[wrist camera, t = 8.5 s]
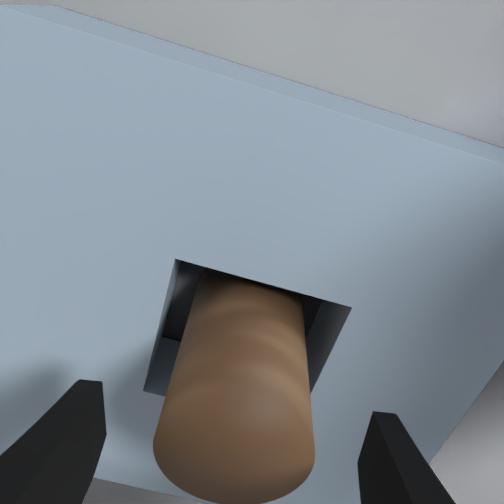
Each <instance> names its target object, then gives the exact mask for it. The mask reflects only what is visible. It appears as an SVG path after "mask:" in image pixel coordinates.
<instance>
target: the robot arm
mask: <svg viewBox="0 0 504 504" xmlns="http://www.w3.org/2000/svg"><path fill="white" fill-rule="evenodd" d="M106 436H107V432H106V420H105V407H104V395H103V383H102V381H92V380H83V379H79V380H78V381H76V382H75V383H74V384H73V385H72V386H71V387H70V388H69V389H68V390H67V391H66V393H65V394H64V395H63V396H62V397H61V398H60V399H59V400H58V401H57V402H56V403H55V404H54V405H53V406H52V407H51V408H50V409H49V410H48V411H47V412H46V413H45V414H44V415H43V416H42V417H41V418H40V419H39V420H38V421H37V422H36V423H34V424H33V425H32V426H31V427H30V428H29V429H28V430H27V431H26V432H25V433H24V434H23V435H22V436H21V437H20V438H19V439H18V440H17V441H15V442H14V443H13V444H12V445H11V446H10V447H9V448H8V449H7V450H5V451H4V452H3V453H2V454H1V455H0V504H82V502H83V499H84V497H85V495H86V492H87V490H88V488H89V486H90V483H91V481H92V479H93V476H94V474H95V471H96V468H97V465H98V462H99V459H100V456H101V452H102V449H103V446H104V442H105V439H106ZM357 466H358V478H359V490H360V500H361V504H456V503H455V502H454V501H453V499H452V498H451V497H450V495H449V494H448V492H447V491H446V489H445V488H444V486H443V485H442V484H441V482H440V481H439V479H438V478H437V476H436V475H435V473H434V472H433V470H432V469H431V467H430V466H429V464H428V463H427V461H426V460H425V458H424V457H423V455H422V454H421V452H420V451H419V449H418V447H417V446H416V444H415V443H414V441H413V439H412V438H411V436H410V435H409V433H408V431H407V430H406V428H405V427H404V425H403V423H402V422H401V420H400V418H399V417H398V416H397V414H395V413H386V412H377V411H373V412H372V415H371V419H370V422H369V425H368V429H367V432H366V435H365V438H364V442H363V445H362V448H361V452H360V455H359V458H358V462H357Z"/></svg>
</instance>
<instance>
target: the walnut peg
mask: <svg viewBox="0 0 504 504" xmlns="http://www.w3.org/2000/svg"><path fill="white" fill-rule="evenodd" d="M153 454H154V457H155V460H156V463H157V465H158V467H159V468H160V470H161V471H162V473H163V474H164V475H165V476H166V477H167V478H168V479H169V480H170V481H171V482H172V483H173V484H174V485H175V486H177V487H178V488H180V489H181V490H183V491H185V492H187V493H188V494H190V495H192V496H195V497H197V498H200V499H203V500H206V501H209V502H213V503H218V504H262V503H267V502H270V501H274V500H277V499H279V498H282V497H284V496H286V495H288V494H289V493H291V492H293V491H294V490H296V489H297V488H298V487H299V486H300V485H301V484H303V483H304V481H305V480H306V479H307V478H308V476H309V475H310V473H311V471H312V469H313V466H314V462H315V444H314V433H313V422H312V410H311V399H310V387H309V376H308V364H307V353H306V342H305V330H304V319H303V307H302V296H301V293H298V292H295V291H291V290H287V289H284V288H280V287H276V286H273V285H269V284H266V283H262V282H258V281H255V280H251V279H247V278H244V277H240V276H237V275H233V274H229V273H226V272H222V271H218V270H215V269H211V268H206V269H205V270H204V271H203V273H202V274H201V276H200V279H199V281H198V285H197V288H196V292H195V295H194V299H193V302H192V306H191V309H190V313H189V316H188V320H187V323H186V327H185V330H184V334H183V337H182V341H181V344H180V348H179V351H178V355H177V358H176V362H175V365H174V369H173V372H172V376H171V379H170V383H169V386H168V390H167V393H166V397H165V400H164V404H163V407H162V411H161V414H160V418H159V421H158V425H157V428H156V432H155V435H154V439H153Z"/></svg>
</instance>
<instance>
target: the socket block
mask: <svg viewBox="0 0 504 504" xmlns="http://www.w3.org/2000/svg"><path fill="white" fill-rule="evenodd" d="M181 260H182V261H186V262H189V263H193V264H197V265H200V266H204V267H207V268H211V269H215V270H218V271H222V272H226V273H229V274H233V275H237V276H240V277H244V278H247V279H251V280H255V281H258V282H262V283H266V284H269V285H273V286H276V287H280V288H284V289H287V290H291V291H295V292H298V293H302V294H305V295H309V296H313V297H316V298H320V299H323V300H322V303H321V305H320V307H319V309H318V312H317V314H316V316H315V319H314V321H313V323H312V325H311V328H310V330H309V332H308V334H307V337H306V339H305V342H306V353H307V364H308V376H309V387H310V399H311V410H312V422H313V433H314V444H315V462H314V466H313V469H312V471H311V473H310V475H309V476H308V478H307V479H306V480H305V481H304V483H303V484H301V485H300V486H299V487H298V488H297V489H296V490H294V491H293V492H291V493H289V494H288V495H286V496H284V497H282V498H279V499H277V500H274V501H270V502H267V503H262V504H361V500H360V490H359V478H358V466H357V462H358V458H359V455H360V452H361V448H362V445H363V442H364V438H365V435H366V432H367V429H368V425H369V422H370V419H371V415H372V412H373V411H377V412H386V413H395V414H397V416H398V417H399V418H400V420H401V422H402V423H403V425H404V427H405V428H406V430H407V431H408V433H409V435H410V436H411V438H412V439H413V441H414V443H415V444H416V446H417V447H418V449H419V451H420V452H421V454H422V455H423V457H424V458H425V460H426V461H427V463H428V464H429V463H430V462H431V460H432V459H433V457H434V456H435V455H436V453H437V452H438V451H439V449H440V448H441V446H442V445H443V444H444V442H445V441H446V440H447V438H448V437H449V435H450V434H451V433H452V431H453V430H454V429H455V427H456V426H457V424H458V423H459V422H460V420H461V419H462V418H463V416H464V415H465V413H466V412H467V411H468V409H469V408H470V407H471V405H472V404H473V402H474V401H475V400H476V398H477V397H478V395H479V394H480V393H481V391H482V390H483V389H484V387H485V386H486V384H487V383H488V382H489V380H490V379H491V378H492V376H493V375H494V373H495V372H496V371H497V369H498V368H499V367H500V365H501V364H502V362H503V361H504V148H501V147H498V146H494V145H491V144H488V143H485V142H482V141H479V140H476V139H472V138H469V137H466V136H463V135H460V134H457V133H454V132H450V131H447V130H444V129H441V128H438V127H435V126H432V125H428V124H425V123H422V122H419V121H416V120H413V119H409V118H406V117H403V116H400V115H397V114H394V113H391V112H387V111H384V110H381V109H378V108H375V107H372V106H369V105H365V104H362V103H359V102H356V101H353V100H350V99H347V98H343V97H340V96H337V95H334V94H331V93H328V92H325V91H321V90H318V89H315V88H312V87H309V86H306V85H303V84H299V83H296V82H293V81H290V80H287V79H284V78H281V77H277V76H274V75H271V74H268V73H265V72H262V71H259V70H255V69H252V68H249V67H246V66H243V65H240V64H237V63H233V62H230V61H227V60H224V59H221V58H218V57H215V56H211V55H208V54H205V53H202V52H199V51H196V50H193V49H189V48H186V47H183V46H180V45H177V44H174V43H171V42H167V41H164V40H161V39H158V38H155V37H152V36H149V35H145V34H142V33H139V32H136V31H133V30H130V29H127V28H123V27H120V26H117V25H114V24H111V23H108V22H105V21H101V20H98V19H95V18H92V17H89V16H86V15H82V14H79V13H76V12H73V11H70V10H67V9H64V8H60V7H57V6H54V5H0V455H1V454H2V453H3V452H4V451H5V450H7V449H8V448H9V447H10V446H11V445H12V444H13V443H14V442H15V441H17V440H18V439H19V438H20V437H21V436H22V435H23V434H24V433H25V432H26V431H27V430H28V429H29V428H30V427H31V426H32V425H33V424H34V423H36V422H37V421H38V420H39V419H40V418H41V417H42V416H43V415H44V414H45V413H46V412H47V411H48V410H49V409H50V408H51V407H52V406H53V405H54V404H55V403H56V402H57V401H58V400H59V399H60V398H61V397H62V396H63V395H64V394H65V393H66V391H67V390H68V389H69V388H70V387H71V386H72V385H73V384H74V383H75V382H76V381H78V380H79V379H83V380H92V381H102V383H103V395H104V407H105V420H106V432H107V436H106V439H105V442H104V446H103V449H102V452H101V456H100V459H99V462H98V465H97V468H96V471H95V474H94V476H93V478H98V479H102V480H107V481H111V482H115V483H120V484H124V485H128V486H133V487H137V488H142V489H146V490H150V491H155V492H159V493H163V494H168V495H172V496H177V497H181V498H185V499H190V500H194V501H198V502H203V503H207V504H218V503H213V502H209V501H206V500H203V499H200V498H197V497H195V496H192V495H190V494H188V493H187V492H185V491H183V490H181V489H180V488H178V487H177V486H175V485H174V484H173V483H172V482H171V481H170V480H169V479H168V478H167V477H166V476H165V475H164V474H163V473H162V471H161V470H160V468H159V467H158V465H157V463H156V460H155V457H154V454H153V439H154V435H155V432H156V428H157V425H158V421H159V418H160V414H161V411H162V407H163V404H164V400H165V397H166V393H167V390H168V386H169V383H170V379H171V376H172V372H173V369H174V365H175V362H176V358H177V355H178V351H179V348H180V344H181V341H177V340H173V339H169V338H165V337H162V335H163V331H164V327H165V323H166V319H167V315H168V311H169V307H170V303H171V299H172V295H173V291H174V287H175V283H176V279H177V275H178V271H179V267H180V263H181Z"/></svg>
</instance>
